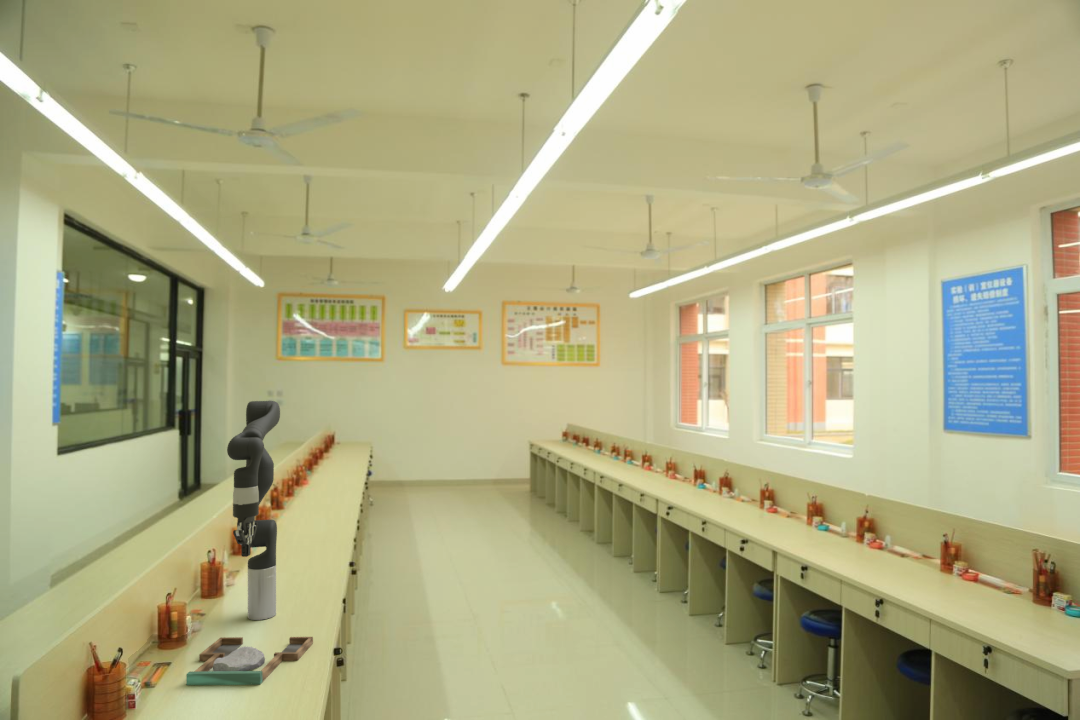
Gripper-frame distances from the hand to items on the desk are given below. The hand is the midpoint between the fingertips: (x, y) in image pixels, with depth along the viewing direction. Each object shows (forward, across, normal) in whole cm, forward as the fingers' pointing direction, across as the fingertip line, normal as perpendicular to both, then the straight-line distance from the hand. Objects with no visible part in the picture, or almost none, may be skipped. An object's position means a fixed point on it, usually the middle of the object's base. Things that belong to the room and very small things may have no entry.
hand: (245, 556), depth 213 cm
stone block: (+28, +18, +7) cm, 34 cm away
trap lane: (+27, +15, +7) cm, 32 cm away
